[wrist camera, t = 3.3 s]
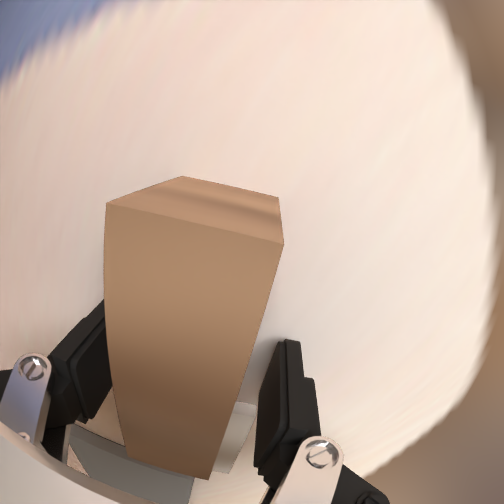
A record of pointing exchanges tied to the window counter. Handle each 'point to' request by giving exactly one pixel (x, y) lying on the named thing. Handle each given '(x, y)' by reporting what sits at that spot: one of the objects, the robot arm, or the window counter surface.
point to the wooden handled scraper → (186, 317)
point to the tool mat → (128, 470)
